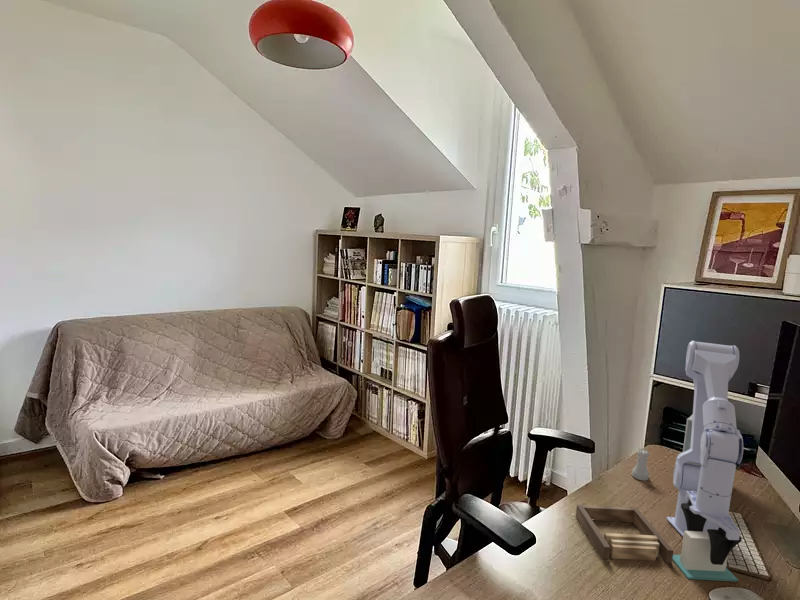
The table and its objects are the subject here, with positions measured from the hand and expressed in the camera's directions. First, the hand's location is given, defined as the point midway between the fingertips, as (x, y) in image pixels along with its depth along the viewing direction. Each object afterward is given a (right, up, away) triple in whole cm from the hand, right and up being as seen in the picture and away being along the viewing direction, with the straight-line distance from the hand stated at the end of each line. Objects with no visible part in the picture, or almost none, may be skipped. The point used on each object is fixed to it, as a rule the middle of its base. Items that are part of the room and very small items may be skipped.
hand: (704, 551), depth 102 cm
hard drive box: (+22, 0, +37) cm, 43 cm away
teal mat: (0, -4, 0) cm, 4 cm away
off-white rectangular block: (0, -3, 0) cm, 4 cm away
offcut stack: (-13, -3, +4) cm, 14 cm away
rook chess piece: (+6, +1, +39) cm, 40 cm away
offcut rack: (-13, -2, +10) cm, 17 cm away
